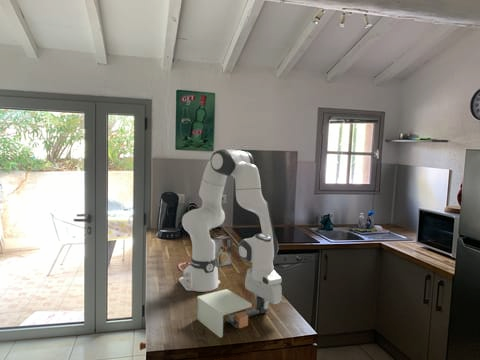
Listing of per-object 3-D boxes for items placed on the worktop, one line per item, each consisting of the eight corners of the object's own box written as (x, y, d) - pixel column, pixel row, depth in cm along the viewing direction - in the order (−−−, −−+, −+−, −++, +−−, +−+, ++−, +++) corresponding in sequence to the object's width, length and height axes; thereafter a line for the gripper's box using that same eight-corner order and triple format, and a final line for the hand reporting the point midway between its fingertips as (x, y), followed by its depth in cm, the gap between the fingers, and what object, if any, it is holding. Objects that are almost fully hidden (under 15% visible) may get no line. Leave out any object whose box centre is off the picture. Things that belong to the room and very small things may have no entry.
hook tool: (225, 320, 141) (225, 305, 140) (262, 309, 151) (262, 295, 151) (235, 328, 135) (236, 312, 134) (273, 316, 145) (273, 301, 144)
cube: (233, 324, 139) (233, 314, 138) (242, 321, 141) (242, 311, 141) (239, 328, 135) (239, 318, 135) (247, 325, 138) (248, 315, 137)
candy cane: (177, 270, 195) (178, 262, 210) (177, 273, 195) (178, 264, 210) (191, 270, 196) (191, 262, 211) (191, 272, 196) (191, 264, 211)
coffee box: (224, 261, 216) (225, 235, 214) (231, 264, 211) (231, 237, 209) (212, 264, 210) (212, 237, 209) (218, 267, 205) (219, 239, 204)
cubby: (196, 318, 142) (197, 296, 141) (226, 310, 150) (226, 289, 149) (220, 337, 128) (220, 312, 128) (251, 327, 137) (251, 303, 136)
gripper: (241, 268, 154) (241, 299, 155) (272, 283, 138) (271, 317, 139) (253, 265, 158) (252, 296, 159) (284, 279, 141) (283, 313, 142)
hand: (261, 306), depth 149 cm, fingers closed on hook tool, 3 cm apart
